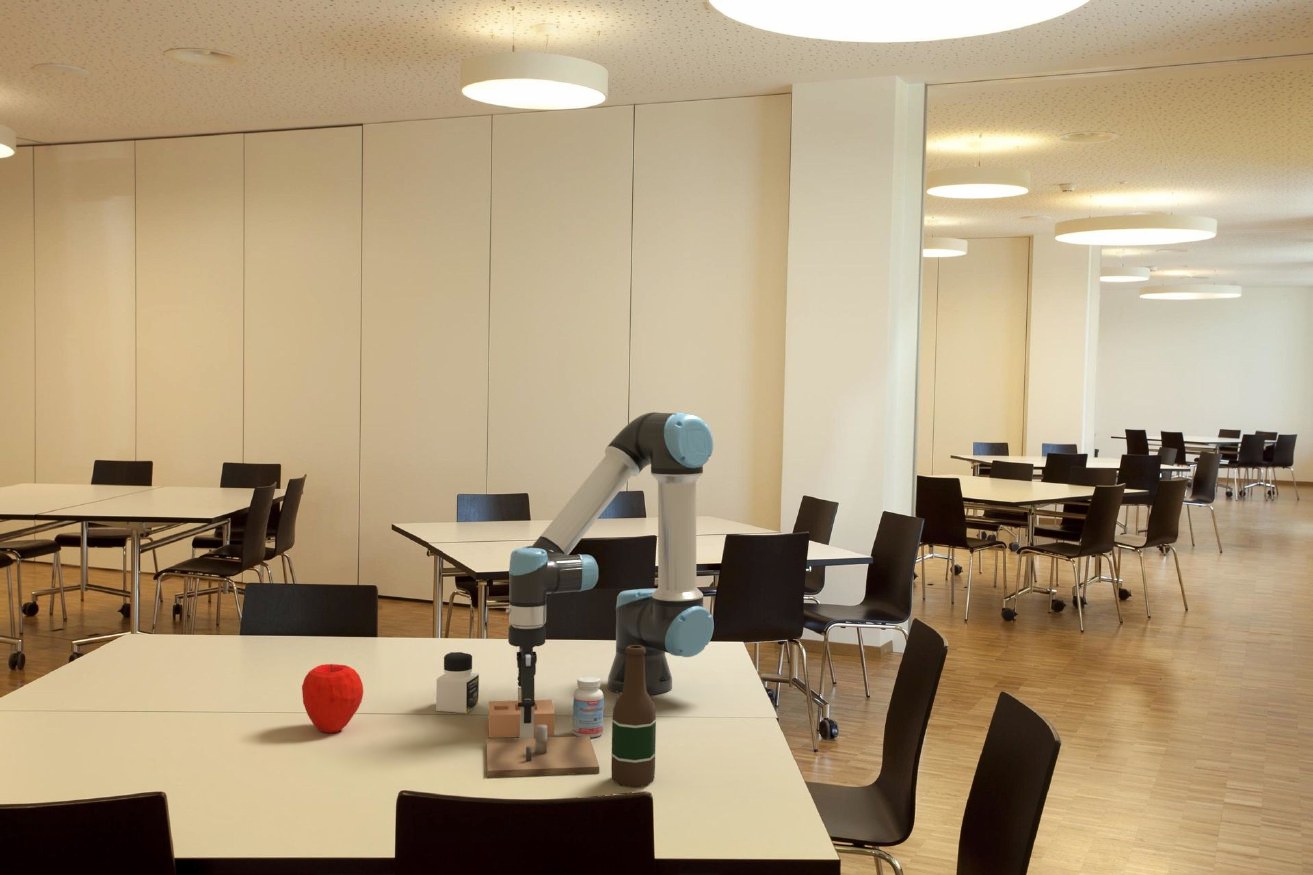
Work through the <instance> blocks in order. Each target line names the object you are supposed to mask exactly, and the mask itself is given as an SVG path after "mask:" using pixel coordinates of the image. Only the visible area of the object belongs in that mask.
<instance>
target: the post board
mask: <svg viewBox="0 0 1313 875" xmlns="http://www.w3.org/2000/svg"><path fill="white" fill-rule="evenodd" d="M486 766H487V767H486V769H487V770H486V771H487V772H486V773H487V778H501V777H502V778H505V777H507V778H509V777H531V776H534V777H536V776H558V775H559V776H561V775H584V774H587V775H588V774H600V765H599V760H598V758H597V755H596V753H595V749H594V745H593V743H592V739H591V738H590V737H589V736H581V737H578V736H556V737H555V736H554V737H553V736H549V737H548V736H547V725H543V724H541V725H536V730H535V736H534V738H520V737H519V738H498V739H497V738H493V739H492V738H491V739H486Z"/></svg>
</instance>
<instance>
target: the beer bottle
mask: <svg viewBox="0 0 1313 875" xmlns="http://www.w3.org/2000/svg"><path fill="white" fill-rule="evenodd" d="M625 653H626V666H625V678H624V686H623V691H622V693H620V695H619V696H618V698H617V699H616V701H615V703H614V706H613V709H612V718H611V720H612V721H611V764H610V765H611V769H610V770H611V779H612V782H614V783H615V784H617V785H619V786H620V787H627V788H639V787H645V786H649V785H650V784H651V783H652V782H653V781H654V779H655V773H656V743H657V742H656V740H657V739H656V738H657V737H656V736H657V735H656V733H657V731H656V730H657V714H656V707H655V704H654V700H653V699H652V697H651V695H649V694H648V693H647V689H646V683H645V661H644V654H645V653H646V650H645V647H643V646H640V645H630V646H628V647H626V649H625Z"/></svg>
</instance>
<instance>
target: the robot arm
mask: <svg viewBox="0 0 1313 875" xmlns="http://www.w3.org/2000/svg"><path fill="white" fill-rule="evenodd" d="M713 450H714V439H713V435H712V431H711V429H710V427H709V425H708V424H707V423H706V422H705V421H704V420H703V419H702V418H700V417H699V416H697V415H693V414H688V413H685V412H676V413H675V412H671V413H670V412H668V413H667V412H655V411H654V412H653V411H652V412H647V413H644V414H641V415H640V416H638V417H636V418H634V419H633V420H632V421H631V422H629V423H628V424H627V425H625V426H624V427H623V428H622V430H620V431H619V433H617V434H616V435H615V437H614V438H613V439H612V440H611V441H610V442H609V444H608V445H607V446H606V448H605V450H604V453H605V456H604V457H603V458H602V460H600V462H599V463H598V465H597V466H596V467H595V468H594V469H593V471H592V472H591V473H590V474H589V476H588V477H587V478H586V479H585V481H584V482H583V483H582V484H581V485H580V486H579V488H578V489H577V491H575V493H574V494H572V496H571V498H570V499H569V500H568V501H567V503H566V504H565V505H564V506H563V507H562V508H561V510H560V511H559V512H558V513H557V515H556V516H555V517H554V518H553V520H552V521H551V522H550V523H549V525H548V526H547V527H546V529H545V530H544V531H543V532H542V533H541V535H540V536H539V537H538V538H537V539H536V540H535V542H534V543H533V544H532V545H527V546H523V547H521V548H515V549H514V550H512V552H511V553H510V560H509V567H508V568H509V569H508V574H509V575H508V576H509V578H508V579H509V580H508V581H509V585H508V588H509V590H508V591H509V592H508V598H509V599H508V601H509V602H508V605H509V607H508V608H506V609H505V613H506V614H509V615H508V622H509V624H510V625H509V626H508V632H507V633H508V634H507V635H508V641H507V642H508V644H509V645H510V646H512V647H516V648H517V647H519V648H518V651H516V664H517V665H516V666H517V669H518V673H517V674H518V675H517V685H518V687H517V701H521V702H520V703H518V707H520V737H519V738H535V736H534V705H535V698H536V697H535V675H536V673H537V669H536V668H537V665H536V664H537V663H538V661H537V660H538V658H537V657H538V656H537V651H534V648H536V647H541V646H544V645H545V643H546V630H547V629H546V626H545V624H546V623H547V595H550V594H551V595H552V594H561V593H571V592H573V593H574V592H578V593H580V592H582V591H587V590H591V589H593V588H594V587H595V586H596V584H597V583H598V581H599V565H598V563H597V561H596V559H595V558H594V557H593V556H592V555H589V554H580V553H578V554H573V555H571V552H572V551H573V549H575V547H576V546H577V545H578V543H579V542H580V541H581V540H582V539H583V537H584V536H585V534H587V532H588V531H589V530H590V529H591V527H592V526H593V524H594V523H595V522H596V521H597V520H598V518H599V517H600V516H601V515H602V514H603V512H604V511H605V510H606V508H607V507H608V506H609V505H610V503H612V501H613V500H614V499H615V497H616V496H617V495H618V494H619V492H621V490H622V489H623V487H624V486H625V485H626V484H627V483H628V481H629V480H630V478H632V477H637V476H639V474H640V473H641V472H642V471H643V469H645V468H646V467H647V466H649V465H650V475H652V477H653V478H655V480H656V481H657V543H658V544H657V545H658V546H657V549H658V550H657V558H658V559H657V560H658V562H657V565H658V566H657V568H658V569H657V570H658V572H657V573H658V575H657V577H658V580H657V581H658V582H657V585H658V586H657V588H639V589H630V590H629V589H628V590H622V591H620V592H619V594H618V595H617V596H616V605H615V611H616V612H615V613H616V614H615V617H616V622H615V623H616V624H615V655H614V659H613V662H612V665H611V667H610V670H609V674H608V677H607V687H608V689H609V690H611V691H612V692H615V693H619V694H621V693H622V691H623V686H624V678H625V666H626V653H625V649H626V647H628V646H630V645H640V646H643V647H645V650H646V653H645V654H644V661H645V683H646V689H647V693H648V694H649V696H651V695H658V694H663V693H666V692H669V691H670V690H672V689H673V676H672V673H671V669H670V666H669V663H668V660H667V656H666V654H667V653H668V654H670V655H671V656H674V657H675V656H676V657H683V658H691V657H692V658H693V657H695V656H697V655H699V654H700V653H702V652H703V651H704V650H705V647H706V646H708V645H709V643H710V642H711V639H712V637H713V633H714V627H715V626H714V625H715V624H714V619H713V616H712V613H710V612H709V610H708V609H707V608H705V607H704V594H703V592H702V591H701V590H700V589H699V588H698V586H697V481H698V479H699V478H701V477H702V475H703V474H704V465H705V464H706V463H708V461H710V459H709V458H710V457H711V456H712V455H713Z"/></svg>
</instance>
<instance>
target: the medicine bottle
mask: <svg viewBox="0 0 1313 875" xmlns="http://www.w3.org/2000/svg"><path fill="white" fill-rule="evenodd" d="M479 678H480V676H479V673H478V672H473V655H472V654H471V653H469V652H466V651H452V652H449V653H447V654H445V655H444V657H443V674H442V675H440V676H438V678H436V682H435V684H436V688H435V690H436V691H435V692H436V693H435V694H436V696H435V697H436V700H435V701H436V702H435V703H436V704H435V710H436V712H445V713H454V714H455V713H458V714H467V713H469V712H470V711H472V710H473V709H475V708H476V707H477V706H478V705H479V693H480V692H479V690H480V688H479V686H480V683H479V682H480V679H479Z"/></svg>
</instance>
